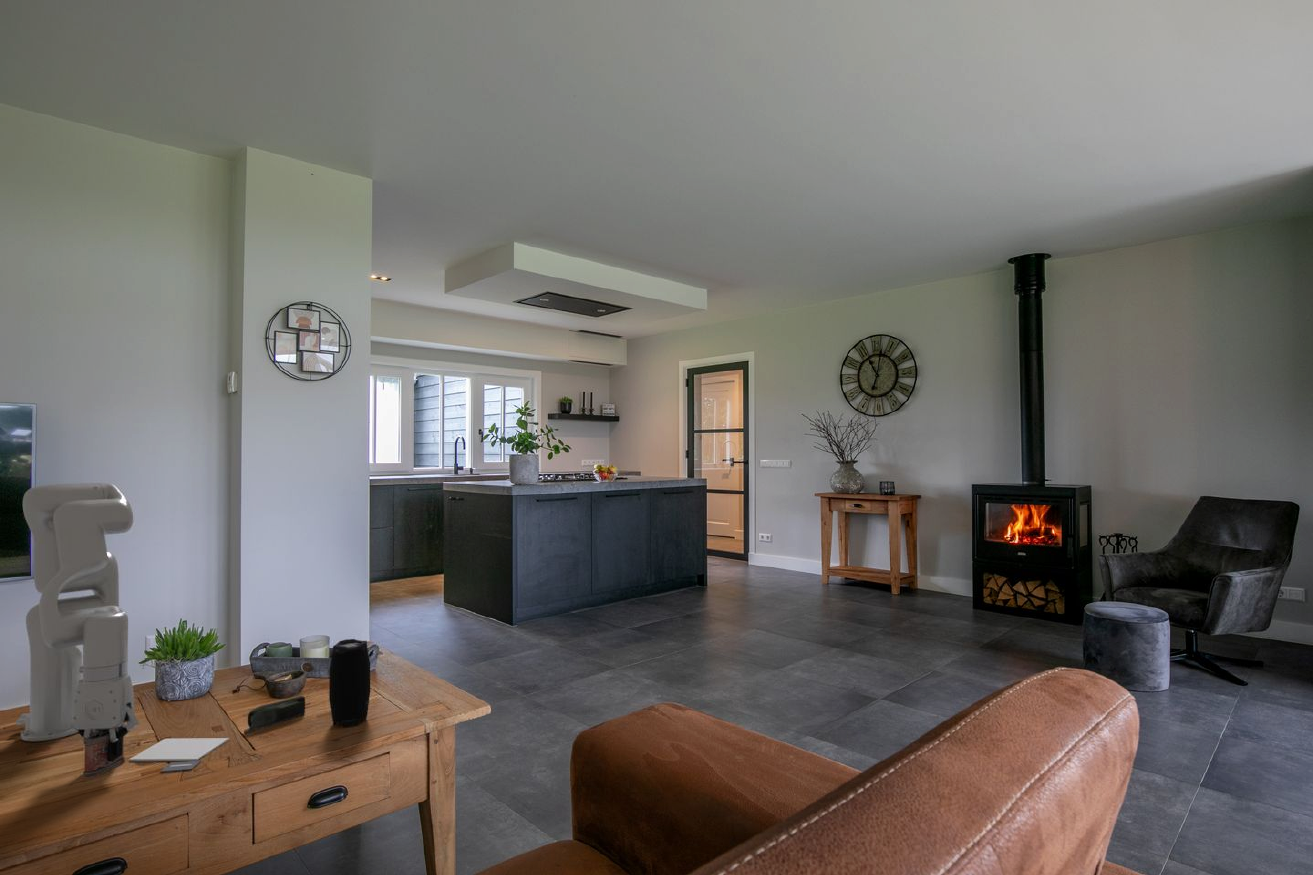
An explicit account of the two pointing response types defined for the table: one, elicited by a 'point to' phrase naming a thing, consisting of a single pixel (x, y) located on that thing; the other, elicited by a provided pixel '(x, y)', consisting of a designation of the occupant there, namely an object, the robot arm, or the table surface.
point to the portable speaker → (349, 682)
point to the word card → (180, 766)
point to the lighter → (99, 753)
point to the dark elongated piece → (276, 713)
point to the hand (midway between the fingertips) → (104, 757)
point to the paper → (180, 749)
